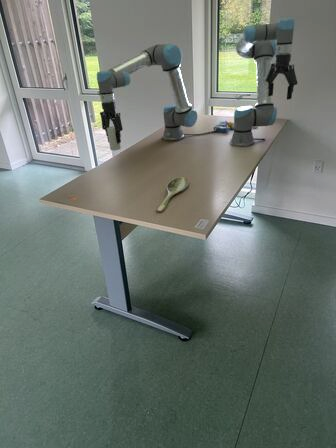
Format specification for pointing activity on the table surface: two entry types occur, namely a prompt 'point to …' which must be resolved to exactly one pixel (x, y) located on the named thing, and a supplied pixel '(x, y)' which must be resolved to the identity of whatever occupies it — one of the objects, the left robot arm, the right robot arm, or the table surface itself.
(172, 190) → the spoon
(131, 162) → the table surface
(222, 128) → the spray gun
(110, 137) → the canister
